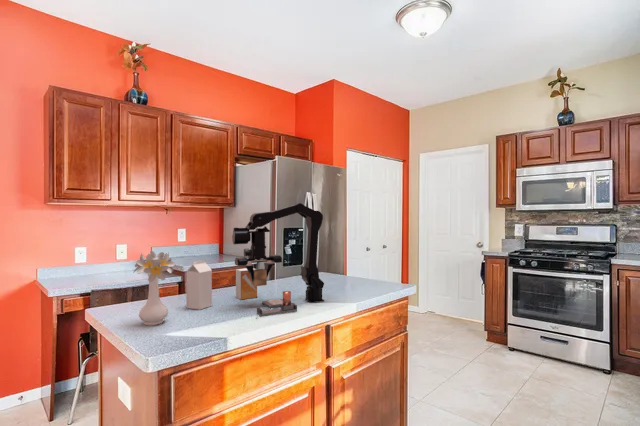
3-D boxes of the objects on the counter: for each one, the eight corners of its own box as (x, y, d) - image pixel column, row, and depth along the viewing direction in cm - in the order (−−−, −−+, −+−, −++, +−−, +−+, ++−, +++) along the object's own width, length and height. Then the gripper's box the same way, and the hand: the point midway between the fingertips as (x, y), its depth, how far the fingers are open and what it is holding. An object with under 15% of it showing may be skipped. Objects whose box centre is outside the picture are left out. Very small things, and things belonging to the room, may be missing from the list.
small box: (240, 300, 160) (240, 270, 160) (235, 297, 166) (235, 269, 166) (257, 297, 165) (257, 269, 165) (252, 295, 170) (252, 267, 170)
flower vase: (142, 333, 115) (142, 255, 115) (128, 320, 129) (128, 251, 129) (183, 325, 124) (183, 252, 124) (166, 314, 138) (166, 248, 138)
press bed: (281, 301, 158) (281, 298, 158) (290, 306, 149) (290, 303, 149) (262, 303, 154) (262, 300, 154) (269, 308, 145) (269, 305, 145)
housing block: (262, 282, 152) (262, 268, 152) (266, 285, 148) (266, 270, 148) (251, 284, 150) (251, 269, 150) (254, 286, 146) (254, 271, 146)
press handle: (289, 306, 144) (289, 290, 144) (293, 308, 140) (293, 292, 140) (280, 307, 142) (280, 291, 142) (283, 310, 138) (283, 293, 138)
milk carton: (212, 306, 150) (211, 260, 150) (199, 310, 143) (199, 262, 143) (198, 304, 153) (198, 259, 153) (186, 308, 146) (186, 261, 146)
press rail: (293, 309, 144) (293, 303, 144) (297, 311, 141) (297, 305, 141) (256, 314, 138) (256, 307, 138) (260, 316, 134) (260, 310, 134)
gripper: (273, 240, 160) (273, 275, 160) (231, 243, 152) (231, 280, 152) (282, 242, 150) (282, 279, 151) (237, 245, 142) (238, 284, 142)
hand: (259, 280), depth 149 cm, fingers closed on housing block, 5 cm apart
